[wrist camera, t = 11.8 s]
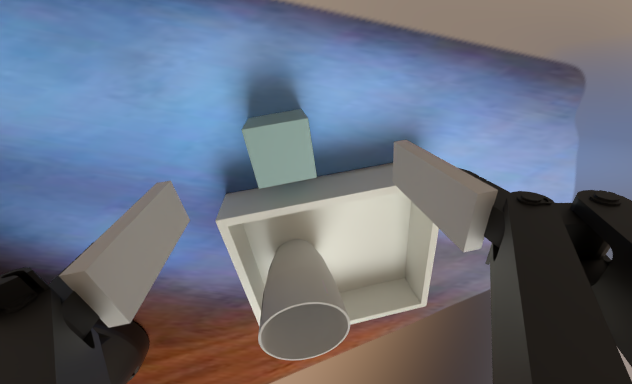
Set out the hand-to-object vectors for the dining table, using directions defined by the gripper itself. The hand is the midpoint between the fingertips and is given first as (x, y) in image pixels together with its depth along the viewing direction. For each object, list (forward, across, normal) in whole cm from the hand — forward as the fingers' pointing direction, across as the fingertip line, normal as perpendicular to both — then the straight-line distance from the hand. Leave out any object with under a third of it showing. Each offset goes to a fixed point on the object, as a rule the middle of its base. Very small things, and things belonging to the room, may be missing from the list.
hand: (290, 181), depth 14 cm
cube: (+10, 0, 0) cm, 10 cm away
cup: (+10, -2, -15) cm, 18 cm away
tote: (+10, +4, -15) cm, 18 cm away
